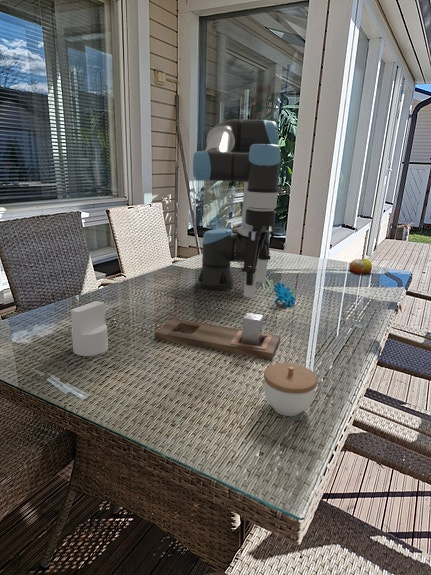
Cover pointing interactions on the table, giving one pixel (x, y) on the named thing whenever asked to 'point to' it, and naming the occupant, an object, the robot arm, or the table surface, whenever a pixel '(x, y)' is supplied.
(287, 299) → the gear
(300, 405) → the lidded jar
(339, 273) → the table surface
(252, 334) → the steel block
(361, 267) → the fruit
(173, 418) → the table surface
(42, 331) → the table surface
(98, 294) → the table surface
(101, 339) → the cylinder with rectangular tab
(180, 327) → the walnut rail
